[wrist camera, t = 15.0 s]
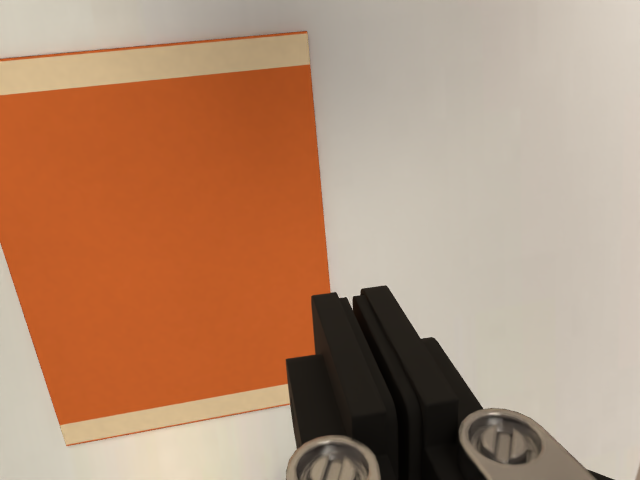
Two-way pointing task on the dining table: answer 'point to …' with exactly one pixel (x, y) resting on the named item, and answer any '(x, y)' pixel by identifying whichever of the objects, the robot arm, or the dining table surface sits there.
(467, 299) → the dining table surface
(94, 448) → the dining table surface
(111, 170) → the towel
